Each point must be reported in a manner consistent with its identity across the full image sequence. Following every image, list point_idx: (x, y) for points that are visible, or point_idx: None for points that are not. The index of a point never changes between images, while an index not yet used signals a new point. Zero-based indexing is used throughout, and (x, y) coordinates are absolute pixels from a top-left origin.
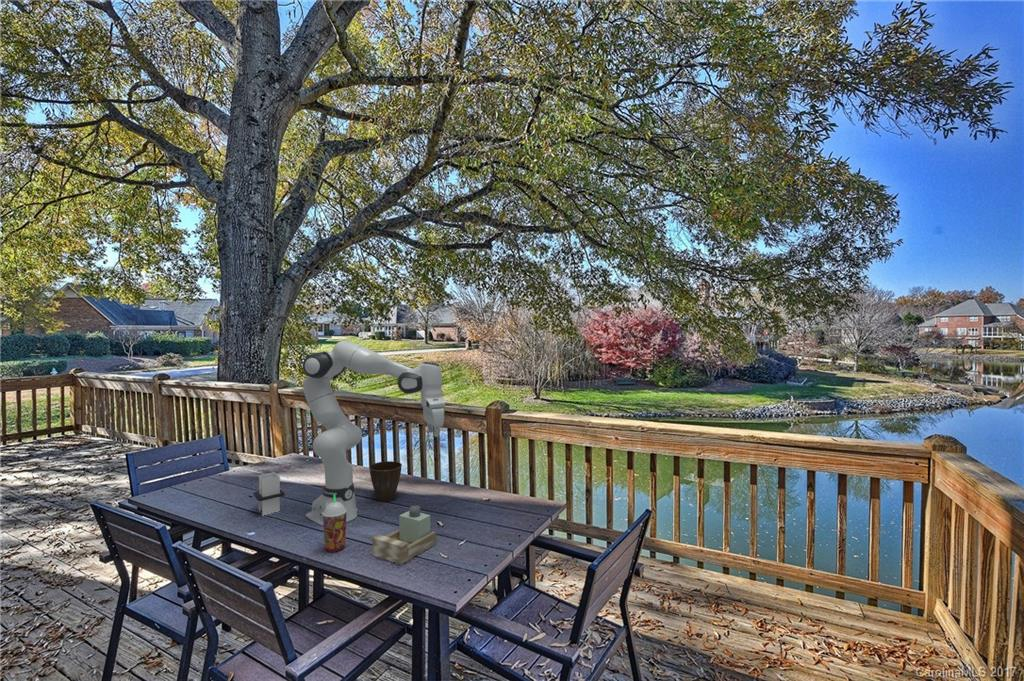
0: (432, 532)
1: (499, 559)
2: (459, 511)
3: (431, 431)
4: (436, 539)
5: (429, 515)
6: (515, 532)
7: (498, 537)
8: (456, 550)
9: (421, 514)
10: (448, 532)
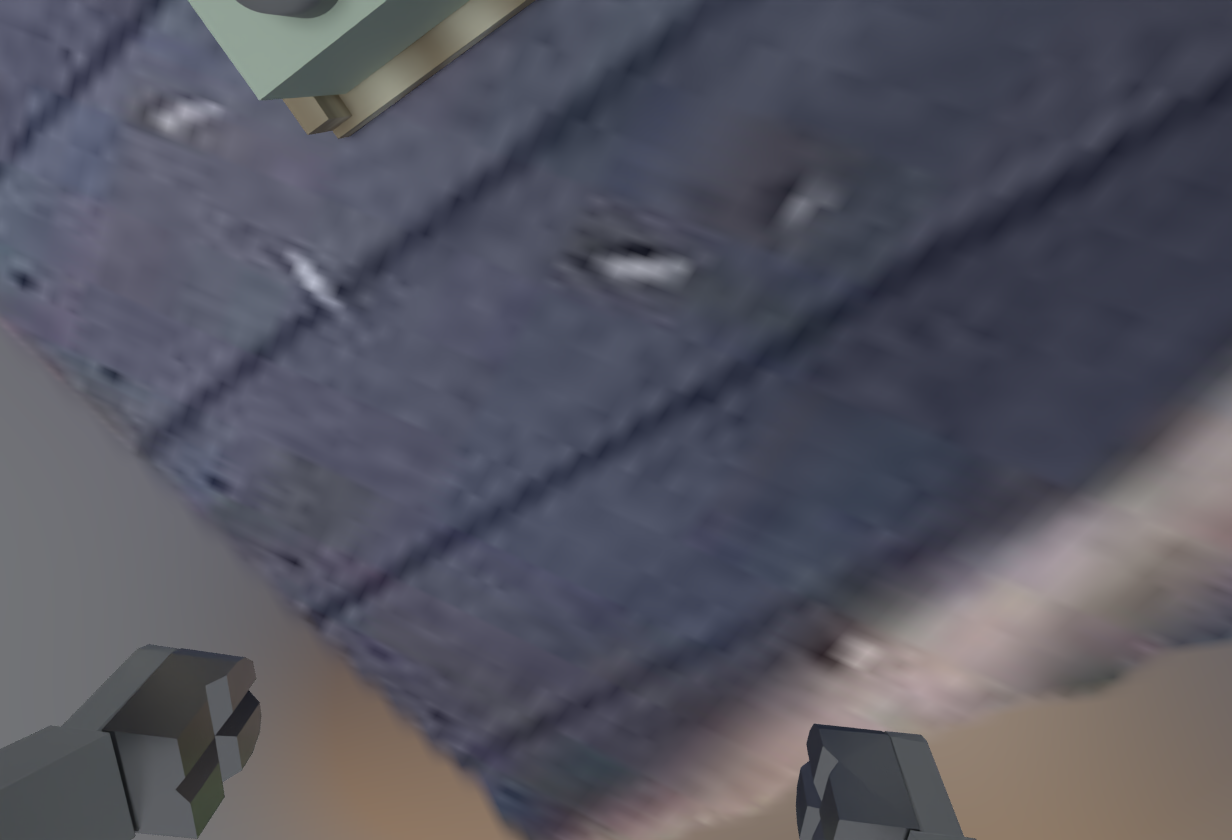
0: (307, 105)
1: (68, 365)
2: (756, 445)
3: (810, 787)
4: (336, 132)
5: (255, 91)
6: (331, 563)
7: (304, 470)
8: (221, 208)
9: (299, 31)
10: (475, 259)
